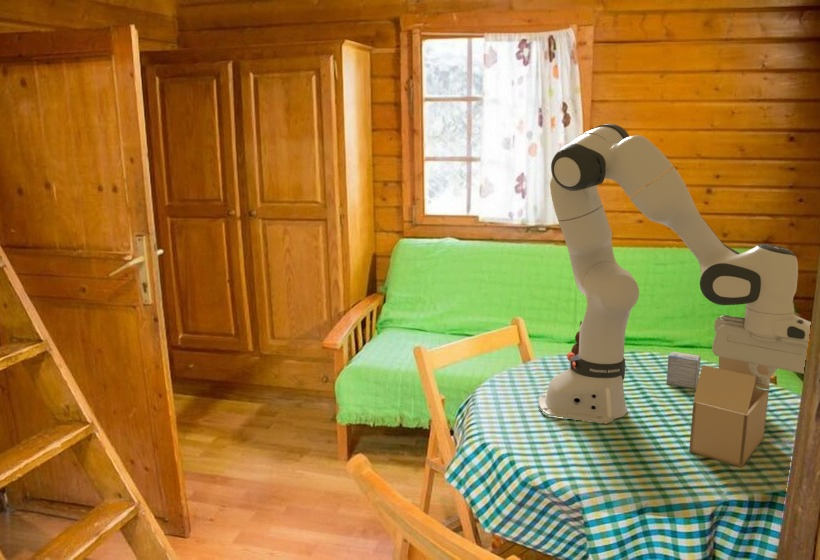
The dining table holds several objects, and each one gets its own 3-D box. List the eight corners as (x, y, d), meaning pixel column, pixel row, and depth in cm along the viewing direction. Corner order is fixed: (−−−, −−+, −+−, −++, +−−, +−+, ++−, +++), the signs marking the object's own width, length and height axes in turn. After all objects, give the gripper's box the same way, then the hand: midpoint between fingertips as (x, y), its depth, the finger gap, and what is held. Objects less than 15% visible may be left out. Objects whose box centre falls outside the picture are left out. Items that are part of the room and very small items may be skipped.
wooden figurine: (579, 371, 194) (581, 323, 190) (567, 365, 199) (569, 318, 196) (597, 368, 197) (599, 320, 193) (585, 362, 202) (587, 315, 198)
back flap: (718, 349, 152) (719, 348, 152) (718, 378, 155) (719, 377, 155) (769, 359, 145) (770, 358, 145) (768, 389, 148) (769, 388, 148)
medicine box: (698, 384, 183) (701, 355, 181) (696, 389, 179) (698, 360, 177) (669, 379, 187) (671, 350, 185) (665, 384, 183) (668, 355, 181)
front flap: (694, 400, 143) (693, 400, 143) (703, 365, 144) (702, 364, 144) (747, 414, 136) (746, 413, 136) (756, 376, 137) (755, 376, 137)
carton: (689, 451, 146) (693, 402, 143) (713, 425, 158) (718, 379, 155) (741, 467, 139) (747, 415, 136) (763, 438, 151) (769, 390, 148)
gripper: (710, 316, 140) (705, 376, 143) (820, 334, 127) (811, 400, 130) (720, 310, 145) (714, 368, 148) (826, 327, 131) (818, 390, 135)
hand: (761, 383), depth 139 cm, fingers closed
